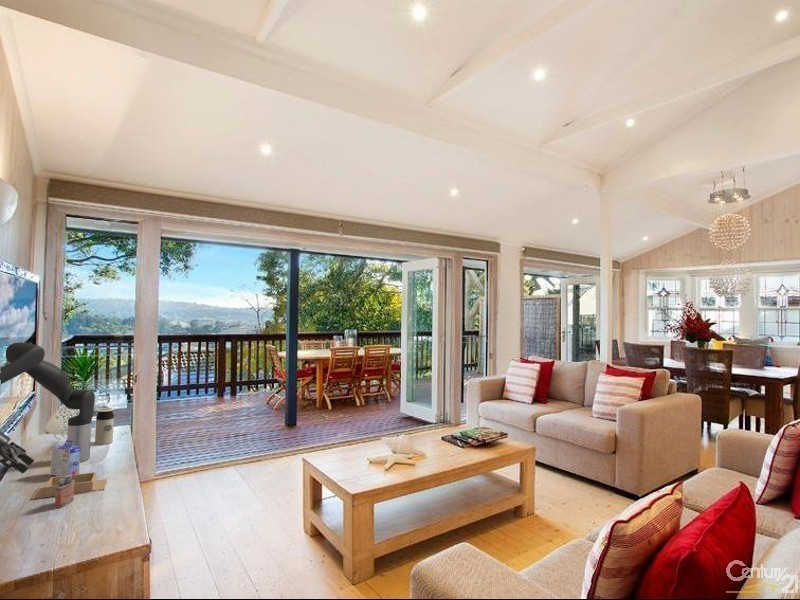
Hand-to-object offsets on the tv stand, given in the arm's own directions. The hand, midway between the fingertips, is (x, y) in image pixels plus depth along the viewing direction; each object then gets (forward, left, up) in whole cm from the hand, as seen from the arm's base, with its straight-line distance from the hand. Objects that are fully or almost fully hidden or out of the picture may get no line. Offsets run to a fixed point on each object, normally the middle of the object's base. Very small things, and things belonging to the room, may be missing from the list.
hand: (29, 466), depth 163 cm
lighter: (+3, +12, -14) cm, 19 cm away
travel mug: (-77, +17, -14) cm, 80 cm away
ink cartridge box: (-31, +7, -14) cm, 35 cm away
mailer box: (-13, +12, -14) cm, 23 cm away
